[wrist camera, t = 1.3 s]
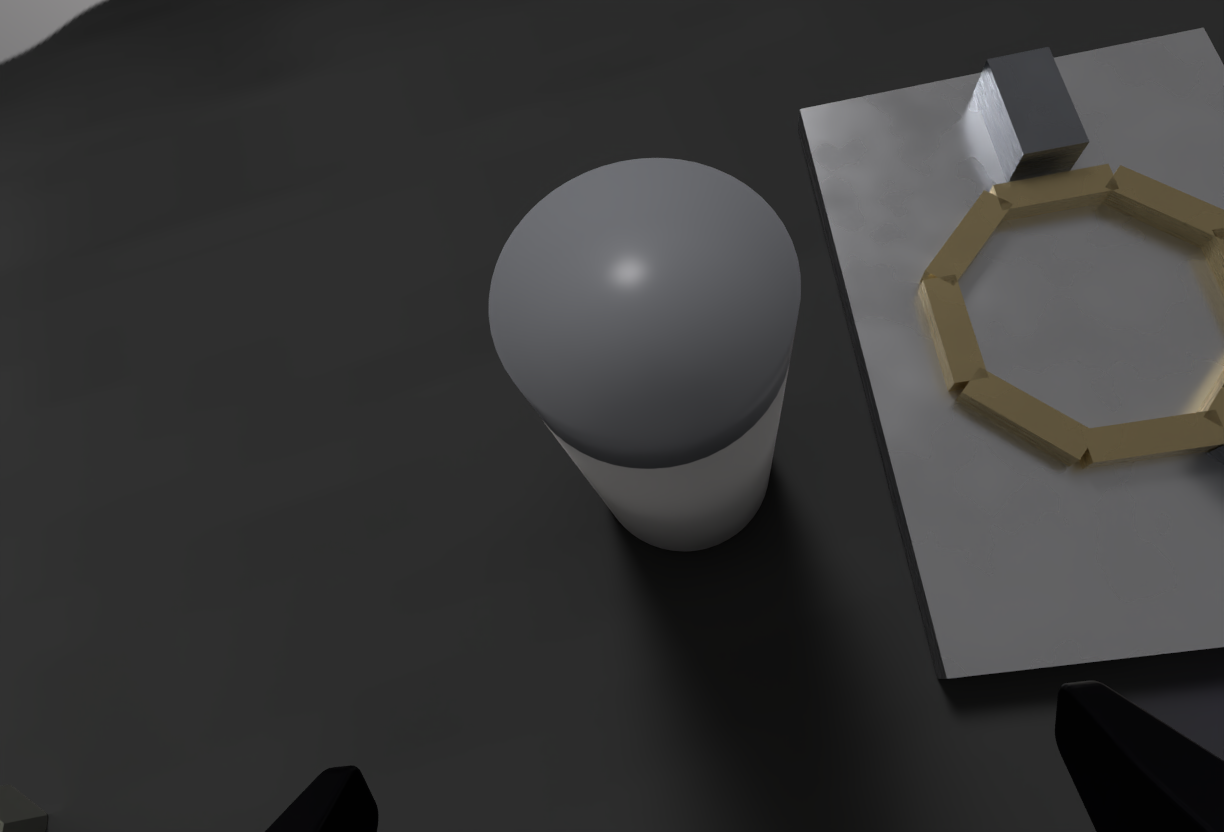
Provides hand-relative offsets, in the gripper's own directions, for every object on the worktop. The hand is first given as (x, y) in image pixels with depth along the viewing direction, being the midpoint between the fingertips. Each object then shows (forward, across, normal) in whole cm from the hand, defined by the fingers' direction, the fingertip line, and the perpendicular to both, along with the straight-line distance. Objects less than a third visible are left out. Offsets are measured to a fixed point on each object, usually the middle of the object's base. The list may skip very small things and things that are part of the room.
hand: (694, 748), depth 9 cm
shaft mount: (+16, -13, +2) cm, 21 cm away
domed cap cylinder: (+14, 0, +4) cm, 15 cm away
